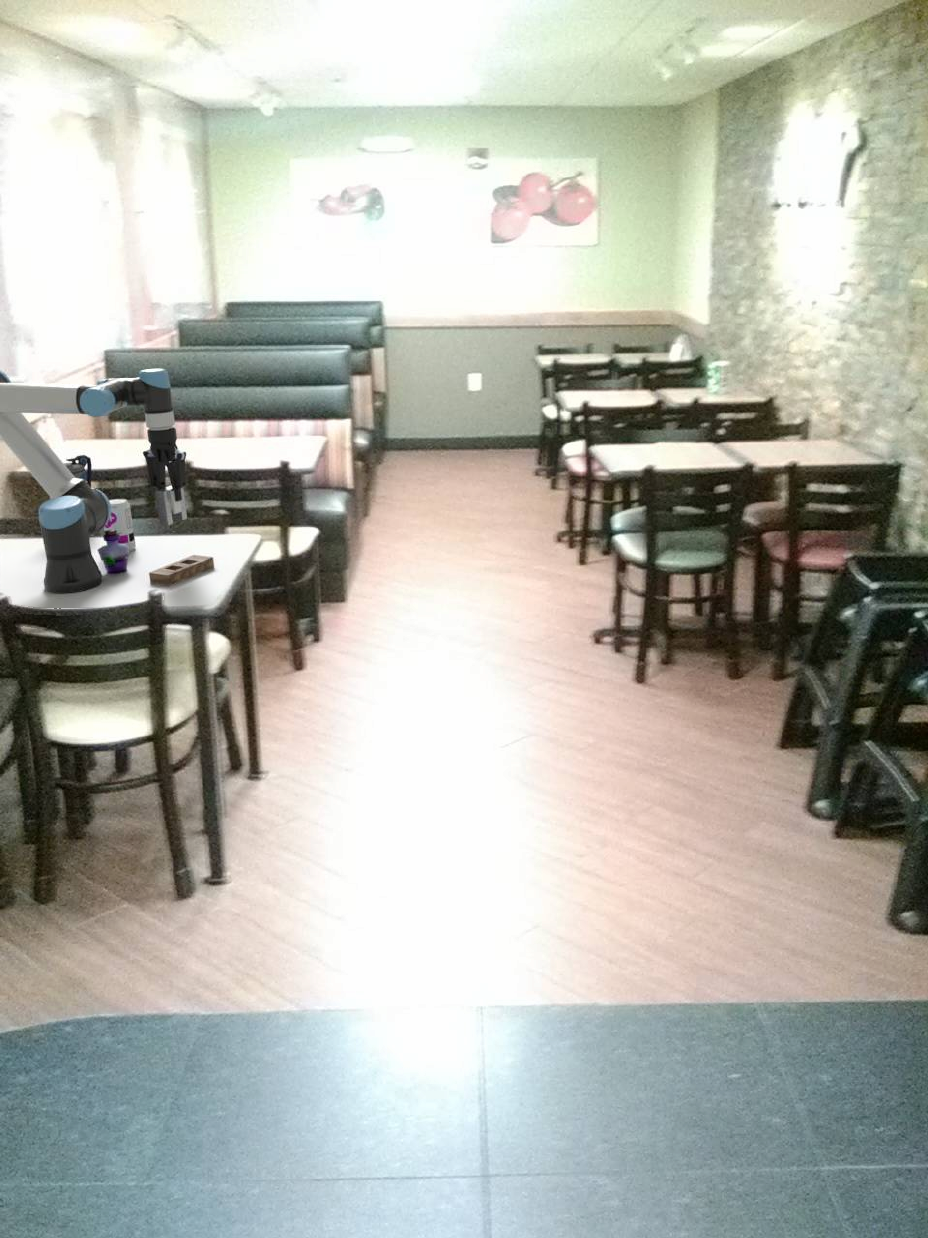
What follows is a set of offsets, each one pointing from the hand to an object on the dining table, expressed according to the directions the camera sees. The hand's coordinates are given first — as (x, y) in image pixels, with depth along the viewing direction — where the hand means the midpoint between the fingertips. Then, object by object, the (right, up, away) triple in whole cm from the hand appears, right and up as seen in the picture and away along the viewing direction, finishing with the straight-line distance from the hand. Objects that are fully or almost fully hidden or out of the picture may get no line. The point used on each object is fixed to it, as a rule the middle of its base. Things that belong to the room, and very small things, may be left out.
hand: (172, 511), depth 318 cm
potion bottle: (-17, -16, +6) cm, 25 cm away
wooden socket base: (+3, -18, -1) cm, 18 cm away
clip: (0, -3, +1) cm, 3 cm away
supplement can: (-22, -9, +27) cm, 36 cm away
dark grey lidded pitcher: (-42, -2, +50) cm, 65 cm away
